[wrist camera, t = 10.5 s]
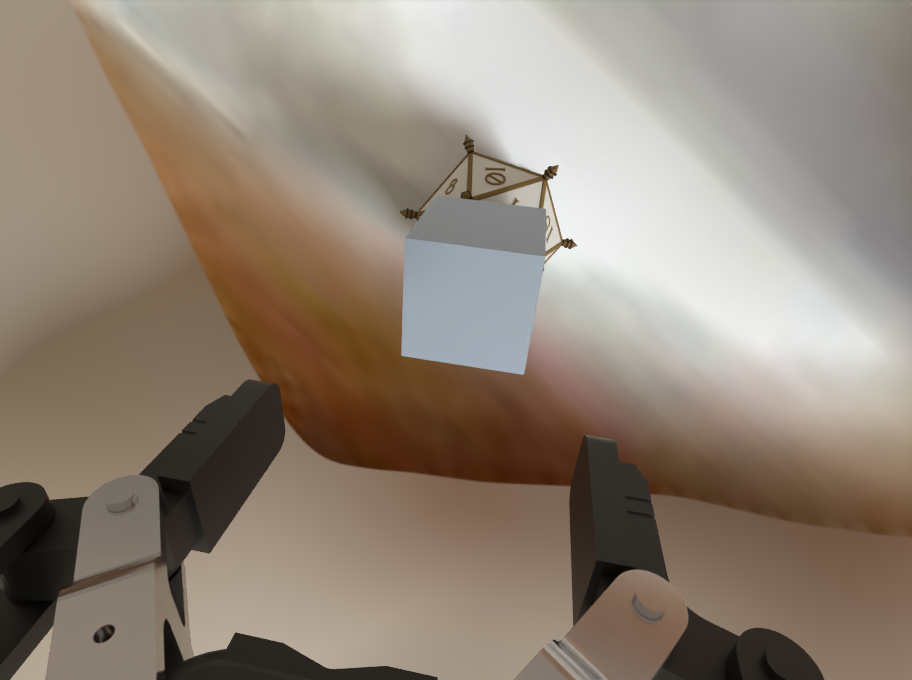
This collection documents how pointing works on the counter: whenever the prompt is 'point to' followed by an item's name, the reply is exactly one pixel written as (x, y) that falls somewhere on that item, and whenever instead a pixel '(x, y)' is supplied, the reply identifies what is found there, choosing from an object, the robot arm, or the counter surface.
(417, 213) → the game die
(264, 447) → the robot arm
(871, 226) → the counter surface
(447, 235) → the slate block
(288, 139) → the counter surface
